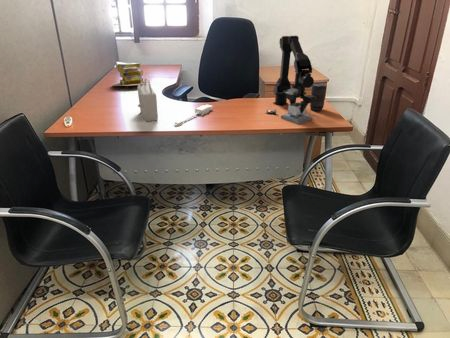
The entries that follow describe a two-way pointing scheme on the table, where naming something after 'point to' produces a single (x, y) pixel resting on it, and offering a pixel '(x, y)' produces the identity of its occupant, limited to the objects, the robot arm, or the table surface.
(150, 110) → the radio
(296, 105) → the box
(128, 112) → the table surface
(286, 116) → the stand
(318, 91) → the camera lens
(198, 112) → the white brush
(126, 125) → the table surface
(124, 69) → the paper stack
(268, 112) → the loose bolt
